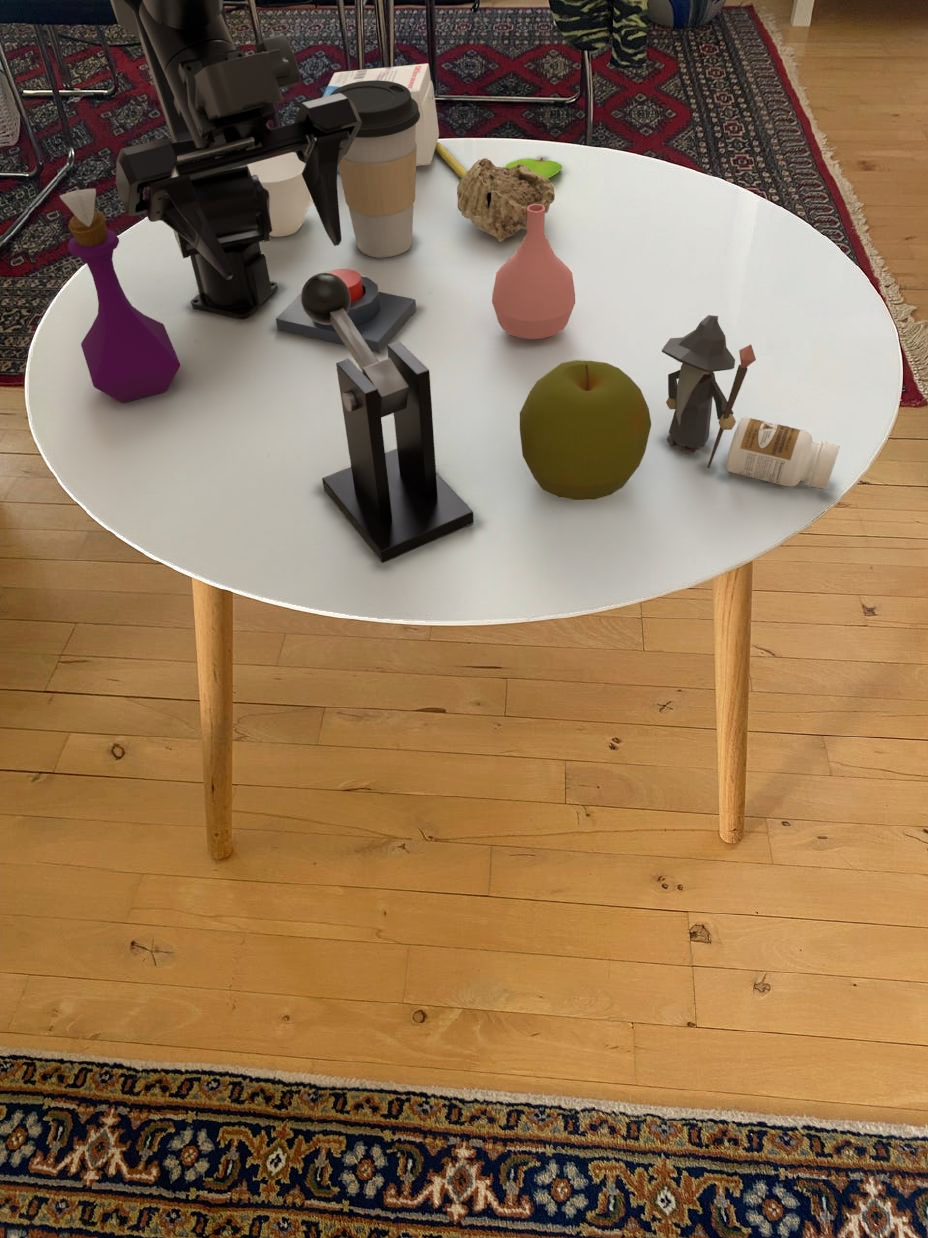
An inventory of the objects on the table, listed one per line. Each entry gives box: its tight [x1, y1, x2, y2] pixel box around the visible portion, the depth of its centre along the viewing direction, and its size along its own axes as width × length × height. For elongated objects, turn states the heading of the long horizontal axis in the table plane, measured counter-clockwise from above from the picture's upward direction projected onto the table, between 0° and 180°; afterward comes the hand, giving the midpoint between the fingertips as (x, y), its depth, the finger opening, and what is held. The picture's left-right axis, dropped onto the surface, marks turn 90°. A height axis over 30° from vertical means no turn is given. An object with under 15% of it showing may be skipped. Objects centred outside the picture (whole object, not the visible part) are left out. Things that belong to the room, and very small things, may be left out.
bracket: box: [321, 340, 474, 563], centre depth 73 cm, size 10×8×13 cm
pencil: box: [435, 141, 468, 179], centre depth 117 cm, size 1×14×1 cm
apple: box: [519, 359, 652, 501], centre depth 75 cm, size 10×10×11 cm
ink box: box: [321, 63, 440, 174], centre depth 116 cm, size 9×8×12 cm
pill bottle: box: [725, 416, 841, 490], centre depth 77 cm, size 4×4×8 cm
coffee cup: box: [330, 80, 420, 259], centre depth 100 cm, size 9×9×15 cm
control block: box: [275, 275, 417, 354], centre depth 95 cm, size 11×8×3 cm
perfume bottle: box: [59, 188, 181, 403], centre depth 83 cm, size 8×8×18 cm
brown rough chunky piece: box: [456, 157, 556, 242], centre depth 105 cm, size 11×7×10 cm
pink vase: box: [491, 204, 576, 340], centre depth 89 cm, size 8×8×12 cm
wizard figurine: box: [661, 314, 756, 469], centre depth 76 cm, size 8×6×12 cm
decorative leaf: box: [504, 157, 563, 179], centre depth 115 cm, size 8×9×1 cm
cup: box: [247, 152, 314, 238], centre depth 107 cm, size 8×10×7 cm
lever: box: [300, 272, 409, 419], centre depth 71 cm, size 12×4×4 cm, turn 31°
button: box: [328, 268, 363, 303], centre depth 93 cm, size 4×4×2 cm
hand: (285, 259), depth 77 cm, fingers open, 9 cm apart
